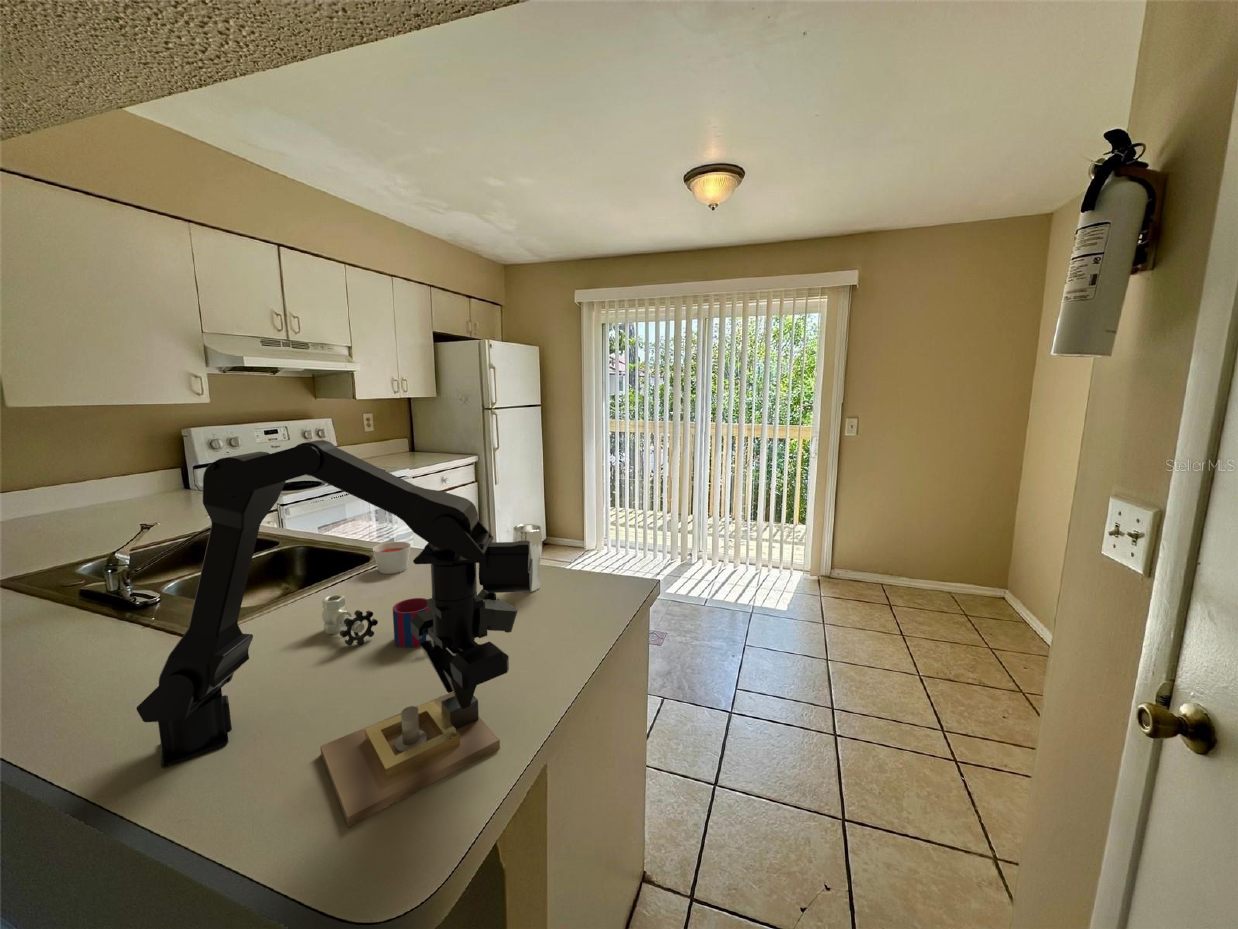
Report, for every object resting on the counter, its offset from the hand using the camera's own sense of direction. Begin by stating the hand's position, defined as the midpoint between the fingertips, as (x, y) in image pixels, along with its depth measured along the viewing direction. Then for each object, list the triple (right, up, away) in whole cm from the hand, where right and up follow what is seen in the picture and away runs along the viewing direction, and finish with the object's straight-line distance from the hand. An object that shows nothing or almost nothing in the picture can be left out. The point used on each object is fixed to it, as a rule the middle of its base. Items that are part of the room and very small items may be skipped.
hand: (458, 699), depth 66 cm
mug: (-15, -1, +24) cm, 29 cm away
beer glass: (0, +2, +50) cm, 50 cm away
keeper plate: (-5, -5, -4) cm, 8 cm away
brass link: (-3, -4, -2) cm, 5 cm away
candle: (-38, +4, +60) cm, 71 cm away
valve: (-30, -1, +26) cm, 40 cm away
